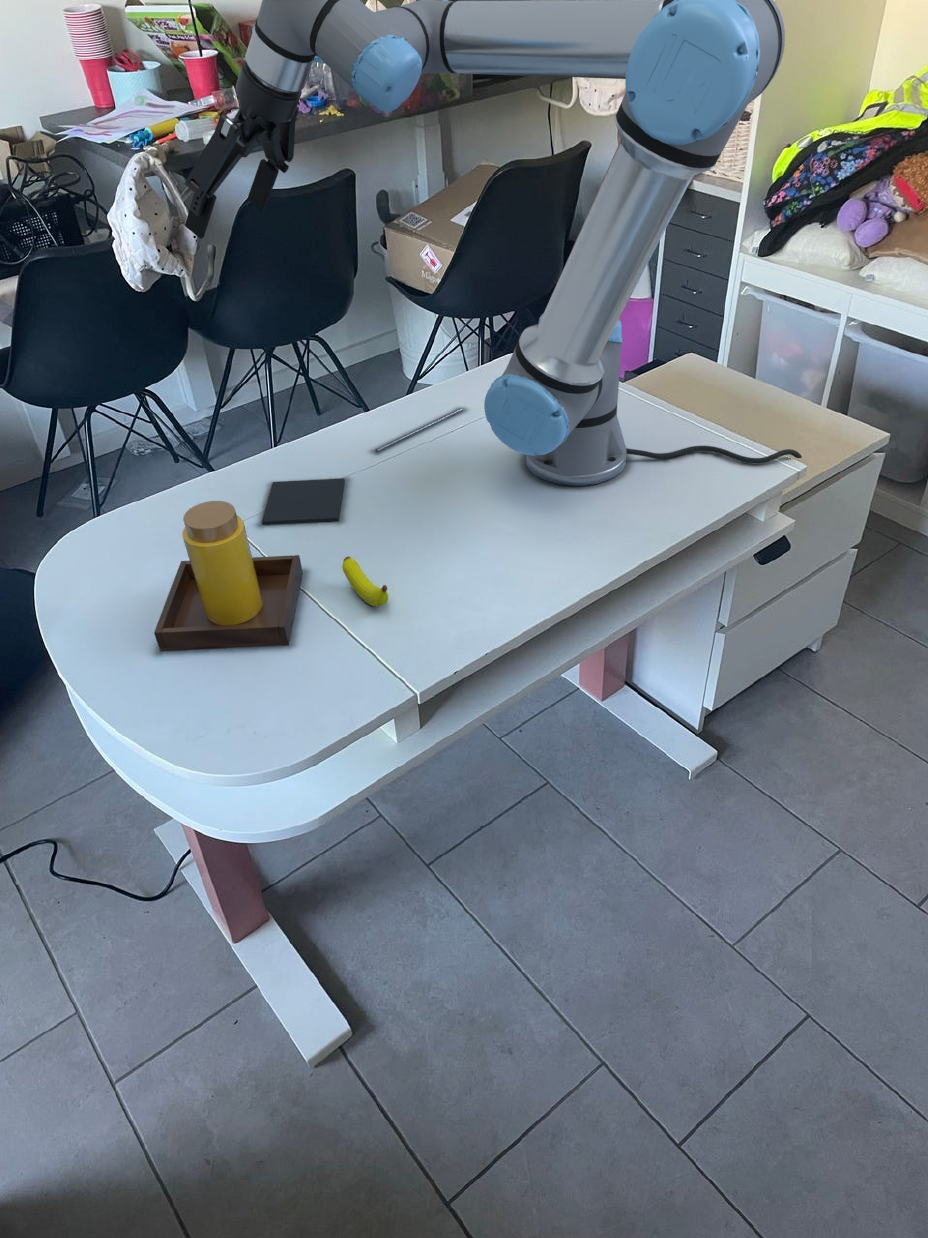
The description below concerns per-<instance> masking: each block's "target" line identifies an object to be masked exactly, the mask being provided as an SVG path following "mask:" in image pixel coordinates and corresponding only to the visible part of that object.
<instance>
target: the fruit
mask: <svg viewBox="0 0 928 1238" xmlns="http://www.w3.org/2000/svg"><path fill="white" fill-rule="evenodd" d="M342 561H343V562H342V566H341V568H342V571H343V574H344V576H345V578H346V580H347V581H348V583H349V585H350V586H351V587H352V588H353V590H354V591H355V592H356V593H357V595H358V596H359V597H360V598H361V599H362V600H363V601H364V602H365V603H366V604H368V605H370V606H372V607H376V608H377V607H382V606H383V605H386V604H387V602H388V601H389V594H388V586H387V585H386V584H383V585H382V586H381V587H379V586H377V585H375V584H374V583H373V582H372V581H371V580H370V579H369V578H368V576H367V575H366V574H365V572H364V571H363V569H362V568H361V566H360V564H359V562H357V560H356V559H354V558H352V557H351V556H348V555H347V556H346V557H344V559H343V560H342Z"/></svg>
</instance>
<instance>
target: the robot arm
mask: <svg viewBox="0 0 928 1238" xmlns="http://www.w3.org/2000/svg"><path fill="white" fill-rule="evenodd" d="M255 19H256V20H255V23H254V26H252V28H251V36H250V39H249V43H248V46H247V50H246V52H245V56H244V57H245V60H244V61H243V62H242V64H241V67H240V71H239V74H238V76H237V77H238V78H237V81H236V84H235V93H236V96H237V99H238V100H239V108H238V110H237V111H236V113H235V115H234V117H233V118H230V117H229V116H228V115H227V114H225V113H222V114H221V115H220V116H219V118H218V121H217V123H216V126H215V129H214V131H213V133H212V135H211V137H210V139H209V140H208V142H207V143H206V145H205V147H204V148H203V151H202V152H201V153H200V155H199V157H198V159H197V160H196V161H195V164H194V166H193V168H192V169H191V171H190V172H189V174H188V175H187V178H186V180H185V181H184V185H185V186H186V187H187V188H188V189H189V190H190V191H192V192H193V195H192V199H191V201H190V202H191V203H190V205H189V210H188V212H187V216H186V220H185V223H184V226H185V227H186V229H188V230H189V231H190V232H192V234H194V236H196V237H197V238H198V239H200V240H201V239H203V238H205V235H206V231H207V229H208V225H209V222H210V219H211V216H212V213H213V210H214V208H215V207H214V206H215V203H216V201H217V196H216V195H215V193H216V191H217V190H218V189H219V188H220V186H221V185H222V184H223V183H224V182H225V180H226V179H227V177H228V176H229V174H231V172H232V171H233V170H234V168H235V167H236V165H237V164H238V163H239V161H241V159H242V158H248V156H249V155H250V154H251V152H252V151H253V150H254V149H255V148H257V147H258V146H259V147H262V150H263V152H264V156H265V158H266V159H267V160H266V159H265V158H262V159H260V161H259V164H258V166H257V170H256V172H255V175H254V178H253V181H252V183H251V187H250V190H249V192H248V196H247V201H249V202H250V204H252V205H253V206H254V207H255V208H257V209H258V210H259V211H260V212H264V211H265V210H266V207H267V205H268V202H269V199H270V196H271V194H272V192H273V189H274V186H275V183H276V180H277V178H278V175H279V173H280V171H281V172H282V173H283V174H285V173H287V172H288V170H289V168H290V165H288V164H287V163H291V162H292V161H293V160H294V156H295V137H296V121H297V118H298V114H299V111H300V107H298V105H299V102H300V99H301V97H302V90H304V88H305V86H306V84H307V81H308V77H309V75H310V72H311V69H312V66H313V63H314V61H315V58H316V57H317V58H319V59H320V60H321V61H323V63H325V65H327V66H328V67H329V68H330V69H331V70H332V71H333V72H334V73H335V74H336V75H338V77H340V78H341V79H342V80H343V81H344V82H345V83H346V84H347V85H348V86H350V87H351V88H352V89H353V90H354V92H355V93H356V94H357V95H358V96H359V97H362V98H363V99H364V100H366V101H367V102H369V103H370V104H372V105H373V106H374V107H375V108H377V109H378V110H379V111H382V112H386V113H390V112H393V111H395V110H397V109H399V107H400V106H401V104H403V103H405V102H406V101H407V100H408V98H409V97H411V94H413V92H414V90H415V88H416V86H417V84H418V82H419V80H420V77H421V75H425V74H445V75H446V74H471V75H498V76H523V77H525V76H528V77H555V78H556V77H557V78H579V79H580V78H582V79H583V78H584V79H609V80H611V79H613V80H625V82H624V83H625V93H624V95H623V97H622V99H621V102H620V105H619V107H618V109H617V111H616V114H615V117H614V123H615V125H616V129H617V132H618V136H619V138H620V141H619V143H618V144H617V145H618V146H617V148H616V150H615V152H614V154H613V156H612V159H611V161H610V163H609V166H608V168H607V170H606V172H605V175H604V177H603V180H602V181H601V184H600V186H599V188H598V189H597V193H596V195H595V197H594V199H593V201H592V204H591V206H590V209H589V211H588V213H587V215H586V217H585V220H584V222H583V224H582V226H581V229H580V231H579V233H578V235H577V238H576V240H575V242H574V244H573V247H572V248H571V249H572V250H570V253H569V256H568V258H567V259H566V263H565V265H564V267H563V269H562V271H561V273H560V275H559V278H558V279H557V282H556V284H555V287H554V289H553V291H552V294H551V296H550V297H549V300H548V303H547V305H546V307H545V310H544V312H542V314H541V315H540V317H539V319H538V323H537V324H534V325H533V324H532V325H530V326H528V327H526V328H525V329H524V330H523V331H522V333H521V334H520V336H519V339H518V340H517V343H516V345H515V348H514V350H513V352H512V354H511V357H510V359H509V361H508V364H507V366H506V368H505V370H504V371H503V373H502V374H501V375H500V376H498V377H497V378H495V379H494V381H493V382H492V383H491V384H490V386H489V388H488V390H487V392H486V393H485V398H484V403H483V405H484V406H483V407H484V415H485V419H486V422H488V423H489V425H490V429H491V431H492V432H493V434H494V436H496V438H497V439H498V440H499V441H500V442H501V443H503V445H505V446H506V447H507V448H509V449H511V450H512V451H514V452H516V453H518V454H519V453H520V454H522V455H525V463H526V466H527V469H528V470H529V471H530V472H531V473H532V474H533V475H535V476H536V477H538V478H540V479H542V480H544V481H547V482H549V483H553V484H557V485H562V486H573V487H577V486H578V487H580V486H591V485H597V484H600V483H603V482H606V481H607V482H608V481H609V480H611V479H613V478H615V477H617V476H618V475H619V474H620V473H621V472H623V470H624V468H625V467H626V463H627V455H634V456H640V457H645V458H650V459H657V460H662V459H663V460H665V459H672V458H676V457H679V456H682V455H686V454H689V453H694V452H711V453H716V454H719V455H721V456H725V457H727V458H730V459H733V460H736V461H739V462H741V463H745V464H746V463H747V464H754V465H755V464H756V465H757V464H765V463H769V462H772V461H775V460H776V459H779V458H781V457H783V456H787V455H788V456H793V457H794V458H795V459H803V456H802V454H801V453H800V452H798V451H797V450H795V449H792V448H791V449H790V448H789V449H788V448H786V449H782V450H779V451H777V452H775V453H772V454H770V455H767V456H764V457H749V456H745V455H740V454H737V453H735V452H732V451H729V450H727V449H724V448H721V447H717V446H714V445H713V446H712V445H693V446H688V447H684V448H681V449H677V450H675V451H671V452H661V453H660V452H658V453H657V452H652V451H647V450H642V449H635V448H634V449H633V448H627V445H626V443H625V439H624V436H623V432H622V427H621V425H620V422H619V418H618V403H619V402H618V401H619V390H620V389H619V388H620V373H621V361H622V360H621V359H622V358H621V357H622V346H623V345H622V344H623V343H624V339H623V325H622V321H621V319H620V318H621V316H622V314H623V312H624V310H625V308H626V306H627V304H628V302H629V300H630V299H631V297H632V295H633V293H634V291H635V289H636V287H637V286H638V284H639V281H640V279H641V277H642V276H643V274H644V271H645V270H646V267H647V265H648V263H649V262H650V260H651V259H652V257H653V254H654V252H655V250H656V248H657V247H658V245H659V242H660V241H661V239H662V237H663V235H664V232H665V231H666V229H667V228H668V226H669V224H670V221H671V219H672V218H673V216H674V214H675V212H676V210H677V208H678V206H679V204H680V202H681V200H682V198H683V196H684V194H685V192H686V191H687V188H688V187H689V185H690V183H691V181H692V179H693V177H695V176H697V175H700V174H703V173H705V172H708V171H710V170H713V169H714V167H715V166H716V164H717V162H718V161H719V158H720V157H721V155H722V153H723V151H724V149H725V147H726V146H727V144H728V142H729V140H730V138H731V136H732V135H733V133H734V131H735V129H736V127H737V125H738V124H739V122H740V120H741V117H742V116H743V114H744V112H745V111H746V109H747V107H748V105H750V103H752V102H753V101H755V100H756V99H757V98H758V97H759V96H760V95H762V93H763V92H764V91H765V90H766V89H767V88H768V87H769V85H770V83H771V82H772V81H773V79H774V78H775V76H776V74H777V72H778V70H779V68H780V65H781V63H782V59H783V55H784V52H785V45H786V44H785V41H786V31H785V24H784V19H783V16H782V13H781V10H780V8H779V7H778V4H777V3H776V1H775V0H457V1H453V0H415V1H411V2H409V3H406V4H402V5H397V6H393V7H389V8H385V9H380V10H377V11H373V10H372V9H371V8H370V7H368V6H367V5H366V4H364V3H363V1H361V0H261V4H260V8H259V11H258V14H257V16H256V18H255ZM237 141H238V142H239V143H238V142H237ZM240 143H241V144H242V145H243V146H242V145H241V144H240ZM286 162H287V163H286Z"/></svg>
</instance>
